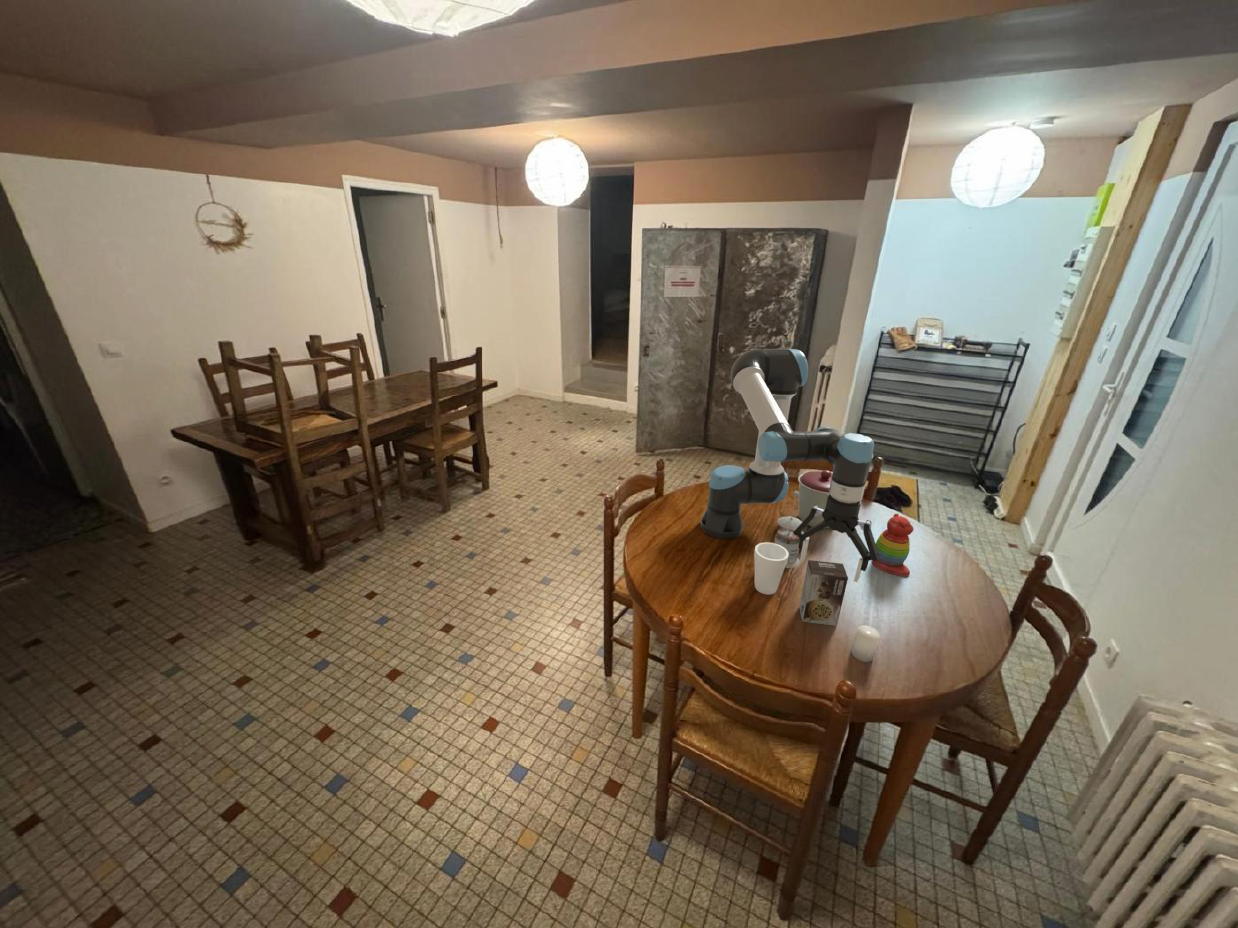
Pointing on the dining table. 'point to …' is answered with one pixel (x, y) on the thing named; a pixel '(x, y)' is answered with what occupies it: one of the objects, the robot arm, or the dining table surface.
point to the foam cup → (769, 566)
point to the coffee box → (823, 592)
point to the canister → (813, 494)
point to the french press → (789, 537)
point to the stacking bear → (894, 546)
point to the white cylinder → (865, 643)
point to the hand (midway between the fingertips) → (828, 569)
